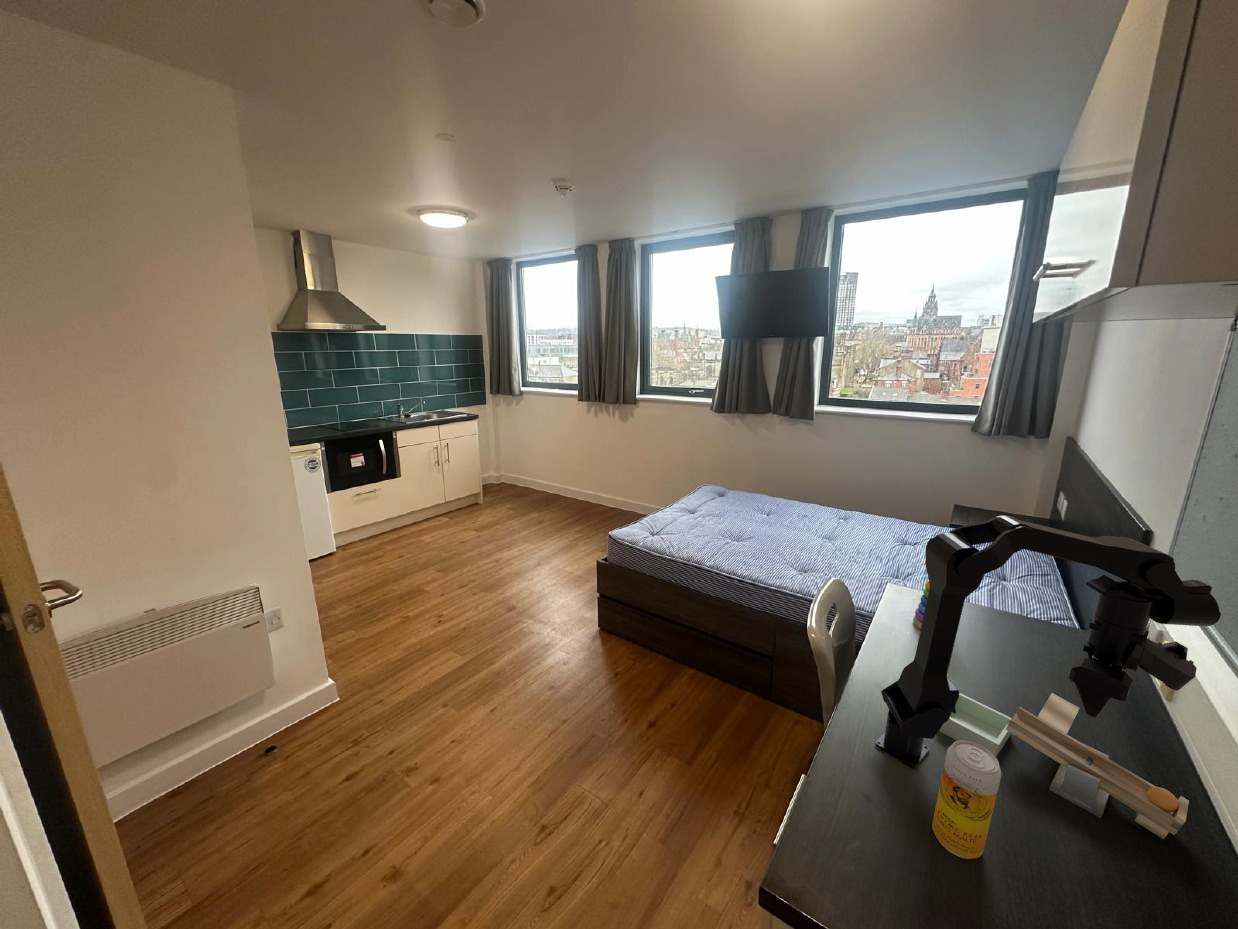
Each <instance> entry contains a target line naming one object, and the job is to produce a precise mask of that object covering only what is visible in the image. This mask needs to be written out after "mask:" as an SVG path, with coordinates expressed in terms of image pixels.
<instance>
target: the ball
mask: <svg viewBox="0 0 1238 929" xmlns="http://www.w3.org/2000/svg"><path fill="white" fill-rule="evenodd" d="M1147 797H1148V799H1149V801H1150V802H1151V803H1152V804H1153V805H1155V806H1157V807H1158V808H1160V809H1162V810H1163V811H1165V812H1173V811H1175V810H1177V808H1178V801H1177V799H1178V798H1177V797H1176V796H1175V795H1174V794H1173V793H1172V792H1171V791H1170V790H1168V789H1166V788H1163V787H1160V786H1156V787H1152V788H1150V789H1149V790H1148V791H1147Z"/></svg>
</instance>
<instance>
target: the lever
mask: <svg viewBox="0 0 1238 929" xmlns="http://www.w3.org/2000/svg"><path fill="white" fill-rule="evenodd" d="M1080 709H1081V708H1080V707H1079V706H1077V705H1075V704H1073V703H1071V702H1069V701H1068V700H1066V699H1064V698H1062V697H1060V696H1058V695H1057V694H1055V693H1053V692H1051V693H1050V695H1049V697H1048V699H1047V700H1046V702H1045V704H1044V705H1043V707H1042V709H1041V710H1040V712H1039V714H1038V715H1037V716H1036V715H1035V714H1033V713H1032V712H1030V711H1028V710H1027V709H1025V708H1023V707H1021V706H1019V707H1018V708H1017V710H1016V712H1015V714H1014V715H1013V717H1011V718H1012V719H1011V720H1010V722H1009V724H1008V726H1007V728H1006V730H1007V731H1009V732H1011V734H1012V735H1014V736H1016V737H1017V738H1019V739H1021V741H1024V742H1025V743H1027V744H1028V745H1030V746H1031V747H1033V748H1035V749H1036V750H1038V751H1039V752H1041V753H1042V754H1044V755H1045V756H1047V757H1048V758H1051V759H1052V760H1054V761H1055V762H1057V763H1059V764H1060V765H1061V764H1062V765H1063V766H1065V767H1066V768H1067V766H1068V763H1069V764H1071V765H1073V766H1075V767H1077V768H1079V769H1081V770H1083V771H1085V772H1087V773H1089V774H1091V775H1093V776H1095V777H1097V778H1099V779H1100V782H1099V785H1098V788H1100V789H1101V790H1103V791H1105V792H1106V793H1108V794H1109V795H1110V796H1111V797H1112V798H1114V799H1115V800H1118V801H1119V802H1121V803H1122V804H1124V805H1125V806H1127V807H1129V808H1130V809H1132V810H1133V811H1135V812H1136V814H1135V818H1134V822H1136V823H1137V824H1139V825H1140V826H1142V827H1144V828H1145V829H1147V830H1149V832H1151V833H1153V834H1155V835H1156V836H1158V837H1159V838H1161V839H1162V840H1165V838H1166V837H1167V836H1168V834H1169V833H1170V834H1172V836H1173V835H1174V836H1175V835H1176V834H1177V833H1178V832H1179V830H1180V829H1181V828H1182V826H1184V824H1185V823H1186V821H1187V815H1188V809H1189V803H1190V800H1188V799H1186V797H1184V796H1182V795H1180V797H1178V798H1176V799H1177V801H1178V808H1177V810H1175V811H1173V812H1165V811H1163V810H1162V809H1160V808H1158V807H1157V806H1155V805H1153V804H1152V803H1151V802H1150V801H1149V799H1148V797H1147V791H1148V790H1149V789H1150V788H1152V787H1157V786H1155V785H1154V784H1152V783H1150V782H1149V781H1147V780H1145V779H1143V778H1142V777H1141V776H1139V775H1137V774H1135V773H1133V772H1132V771H1130V770H1129V769H1128V768H1127V769H1126V768H1125V767H1124V766H1121V765H1120V764H1118V763H1116V762H1115V761H1113V760H1111V759H1110V758H1106V757H1105V756H1103V755H1101V754H1100V753H1098V752H1096V751H1094V750H1093V749H1094V748H1093V749H1091V748H1092V747H1091V748H1089V747H1090V746H1089V745H1087V744H1085V743H1083V742H1081V741H1079V740H1077V739H1076V738H1074V737H1072V736H1070V735H1069V734H1068V733H1069V731H1070V728H1071V727H1072V725H1073V723H1074V721H1075V718H1076V716H1077V714H1078V712H1079V710H1080ZM1082 743H1083V744H1082ZM1084 744H1085V745H1084ZM1086 745H1087V746H1086ZM1088 746H1089V747H1088Z"/></svg>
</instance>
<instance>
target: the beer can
mask: <svg viewBox="0 0 1238 929" xmlns="http://www.w3.org/2000/svg"><path fill="white" fill-rule="evenodd" d="M943 763H944V764H943V769H942V774H941V779H940V784H939V789H938V794H937V799H936V804H935V809H934V815H933V818H932V819H933V820H932V825H931V827H932V831H933V833H934V835H935V837H936V839H937V840H938V842H939V843H940V844H941V846H942V847H943V848H944V849H946V850H947V851H948V852H949V853H951V854H953V855H955V856H956V857H959V858H961V859H965V860H966V859H967V860H972V859H977V858H980V857H981V856H982V855H983V854H984V850H985V846H986V843H987V842H986V841H987V838H988V835H989V834H988V833H989V828H990V826H991V821H992V816H993V812H994V808H995V804H996V799H997V795H998V793H999V792H998V791H999V788H1000V783H1001V780H1002V771H1001V767H1000V763H999V760H998V758H997V757H995V756H994V755H993V754H992V753H991V752H990V751H988V750H987V749H986V748H984V747H982V746H980V745H978V744H976V743H973V742H970V741H965V740H959V741H957V740H955V741H954V742H952V744H951V745H950V746H949V747H948V748H947V749H946V754H945V759H944V762H943Z"/></svg>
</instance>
